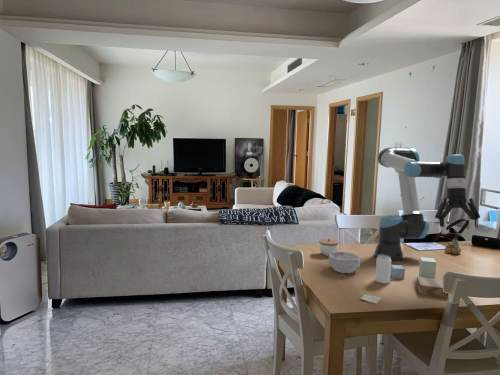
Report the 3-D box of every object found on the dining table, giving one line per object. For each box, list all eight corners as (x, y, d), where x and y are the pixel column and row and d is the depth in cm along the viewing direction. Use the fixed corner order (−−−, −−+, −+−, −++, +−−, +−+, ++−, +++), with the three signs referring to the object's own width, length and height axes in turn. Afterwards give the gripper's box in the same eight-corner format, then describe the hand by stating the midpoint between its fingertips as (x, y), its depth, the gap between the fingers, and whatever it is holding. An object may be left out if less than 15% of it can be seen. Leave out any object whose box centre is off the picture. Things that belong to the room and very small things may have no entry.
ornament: (443, 252, 220) (445, 236, 218) (446, 250, 224) (447, 234, 223) (458, 255, 214) (460, 239, 213) (461, 253, 219) (462, 237, 218)
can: (388, 285, 167) (389, 259, 166) (373, 282, 171) (375, 256, 169) (391, 280, 173) (392, 255, 171) (377, 277, 176) (378, 253, 175)
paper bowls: (338, 263, 196) (339, 249, 195) (365, 271, 185) (366, 255, 185) (322, 270, 186) (323, 254, 185) (349, 278, 175) (350, 262, 174)
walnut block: (419, 294, 158) (420, 285, 157) (416, 284, 168) (416, 276, 168) (448, 297, 154) (449, 288, 154) (442, 288, 165) (443, 279, 164)
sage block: (420, 281, 172) (422, 260, 171) (418, 277, 178) (420, 257, 177) (434, 283, 171) (436, 262, 170) (432, 278, 176) (433, 258, 175)
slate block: (393, 278, 176) (394, 268, 175) (390, 274, 181) (390, 265, 180) (404, 278, 176) (404, 268, 175) (400, 275, 181) (401, 265, 180)
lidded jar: (340, 253, 214) (341, 238, 213) (334, 258, 205) (334, 242, 204) (322, 250, 220) (323, 235, 218) (315, 255, 211) (316, 239, 209)
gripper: (435, 187, 167) (436, 234, 166) (487, 187, 169) (489, 234, 167) (426, 188, 175) (427, 233, 173) (476, 188, 176) (478, 233, 175)
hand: (458, 233), depth 170 cm, fingers open, 13 cm apart
